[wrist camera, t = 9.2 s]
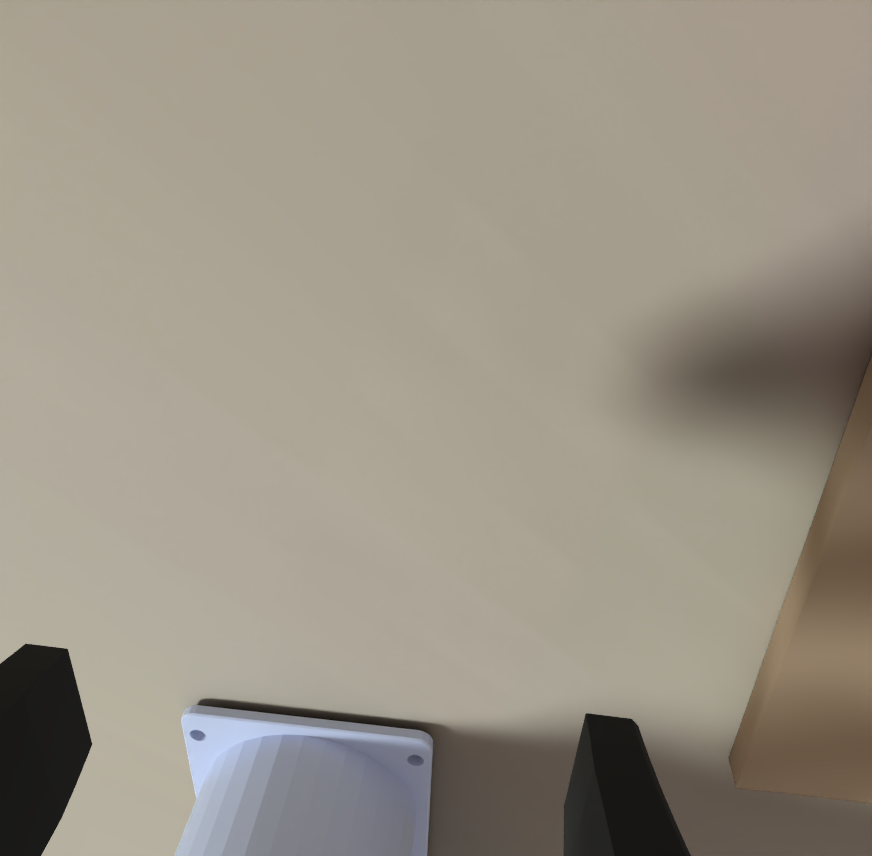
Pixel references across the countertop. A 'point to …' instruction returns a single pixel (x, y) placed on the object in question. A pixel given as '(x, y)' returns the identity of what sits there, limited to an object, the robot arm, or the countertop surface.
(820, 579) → the charging dock
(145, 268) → the countertop surface
